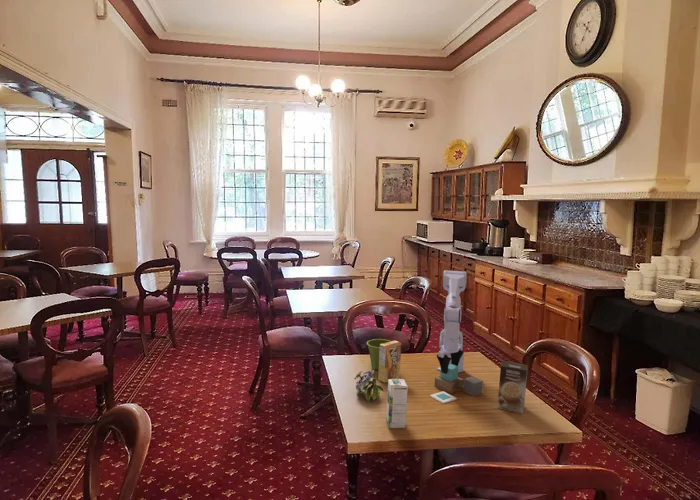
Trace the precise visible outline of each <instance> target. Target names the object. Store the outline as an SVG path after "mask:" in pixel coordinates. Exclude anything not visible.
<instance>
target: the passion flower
mask: <svg viewBox="0 0 700 500" xmlns="http://www.w3.org/2000/svg"><path fill="white" fill-rule="evenodd" d="M375 372H376V369H372V371H371V370H369V371H366V372H363V371H362V370H361V371H359V373H357V374H356V375H355V377H354V380H357V379H358V380H357V381H356V385H355V390H357V391H356V395H359V394H360V393H361V392H362V391H364V393H365V399H366V402H368V403H371V401H370V400H371V398H372V401H375V400H377V399H378V398H379V396H380V393H381V392H383V393H384V392H385V389H386V388H385V387H386V385H377V379H376V373H375ZM362 373H363V374H362ZM380 391H381V392H380Z"/></svg>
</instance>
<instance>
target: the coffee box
mask: <svg viewBox="0 0 700 500" xmlns="http://www.w3.org/2000/svg"><path fill="white" fill-rule="evenodd" d="M528 366H529V365H528V364H523V363H518V362H513V361H507V360H503V359H502V361H501V364H500V373H499V382H498V385H499V386H498V392H497V393H498V395H497V404H496V408H498V409H501V410H505V411H510V412H513V413H514V412H515V413H517V414H518V413H519V414H524V410H525V402H526V401H525V400H526V391H527V390H526V389H527V378H528V370H529V368H528Z"/></svg>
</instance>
